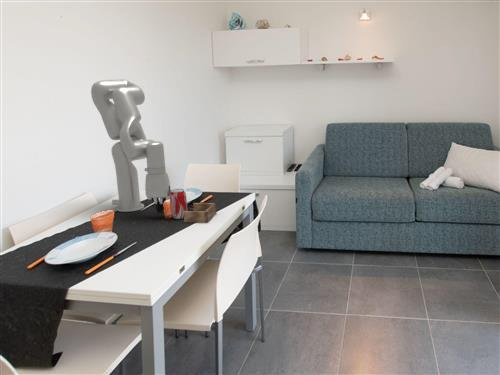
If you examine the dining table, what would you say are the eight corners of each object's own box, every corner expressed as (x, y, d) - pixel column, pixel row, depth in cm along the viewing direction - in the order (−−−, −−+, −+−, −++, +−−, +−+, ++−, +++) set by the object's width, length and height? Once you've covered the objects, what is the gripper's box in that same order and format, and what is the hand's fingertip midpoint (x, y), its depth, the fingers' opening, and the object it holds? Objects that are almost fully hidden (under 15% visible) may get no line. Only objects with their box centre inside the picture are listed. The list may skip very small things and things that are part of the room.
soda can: (186, 219, 214) (184, 191, 212) (170, 219, 215) (167, 192, 212) (188, 214, 221) (186, 188, 219) (172, 215, 222) (170, 188, 219)
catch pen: (184, 222, 210) (183, 211, 209) (194, 212, 224) (193, 203, 223) (207, 222, 208) (206, 212, 207) (216, 213, 222) (215, 203, 221)
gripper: (136, 172, 213) (140, 214, 217) (170, 172, 210) (173, 214, 214) (143, 169, 220) (147, 209, 224) (176, 169, 217) (179, 210, 221)
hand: (160, 212), depth 219 cm, fingers closed
